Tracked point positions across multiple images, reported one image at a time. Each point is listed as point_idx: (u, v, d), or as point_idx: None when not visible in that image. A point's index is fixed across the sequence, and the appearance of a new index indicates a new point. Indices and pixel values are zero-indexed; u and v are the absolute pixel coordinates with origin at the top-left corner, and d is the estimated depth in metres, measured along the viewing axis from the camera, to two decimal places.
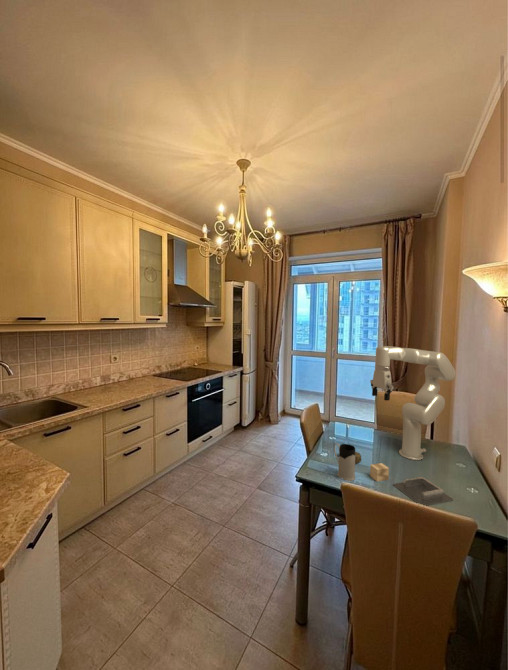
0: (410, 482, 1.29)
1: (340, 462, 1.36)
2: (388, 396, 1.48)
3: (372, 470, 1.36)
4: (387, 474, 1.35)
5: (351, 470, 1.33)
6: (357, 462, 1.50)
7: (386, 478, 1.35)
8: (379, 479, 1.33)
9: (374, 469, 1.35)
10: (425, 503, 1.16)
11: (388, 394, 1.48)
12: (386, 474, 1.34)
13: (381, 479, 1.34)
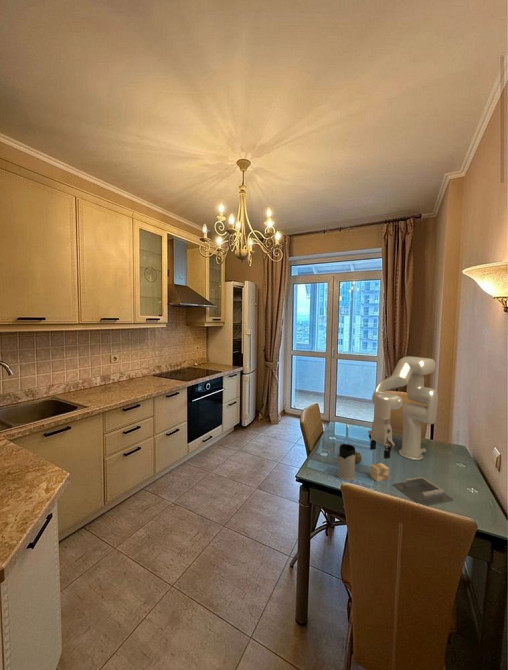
0: (410, 482, 1.29)
1: (340, 462, 1.36)
2: (388, 454, 1.30)
3: (372, 470, 1.36)
4: (387, 474, 1.35)
5: (351, 470, 1.33)
6: (357, 462, 1.50)
7: (386, 478, 1.35)
8: (379, 479, 1.33)
9: (374, 469, 1.35)
10: (425, 503, 1.16)
11: (388, 451, 1.30)
12: (386, 474, 1.34)
13: (381, 479, 1.34)
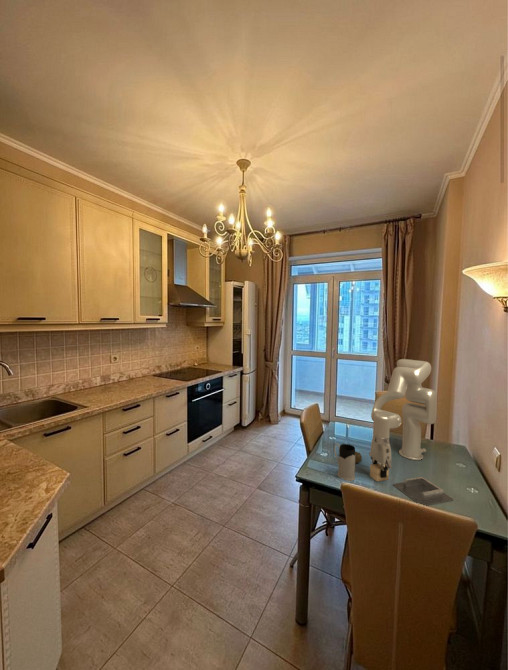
0: (410, 482, 1.29)
1: (340, 462, 1.36)
2: (385, 473, 1.32)
3: (372, 470, 1.36)
4: (387, 474, 1.35)
5: (351, 470, 1.33)
6: (357, 462, 1.50)
7: (386, 478, 1.34)
8: (379, 479, 1.33)
9: (374, 469, 1.35)
10: (425, 503, 1.16)
11: (385, 471, 1.32)
12: None
13: (381, 479, 1.34)
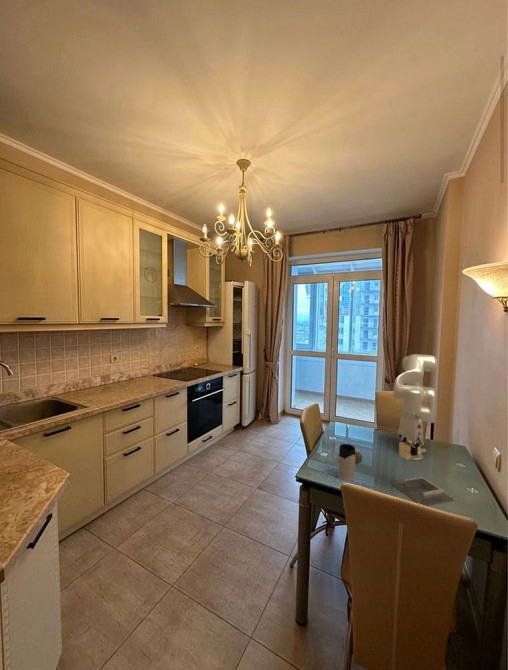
0: (410, 482, 1.29)
1: (340, 462, 1.36)
2: (416, 451, 1.24)
3: (401, 448, 1.28)
4: (418, 452, 1.26)
5: (351, 470, 1.33)
6: (358, 461, 1.50)
7: (417, 456, 1.26)
8: (409, 457, 1.25)
9: (404, 446, 1.27)
10: (425, 503, 1.16)
11: (416, 448, 1.24)
12: None
13: (411, 457, 1.26)
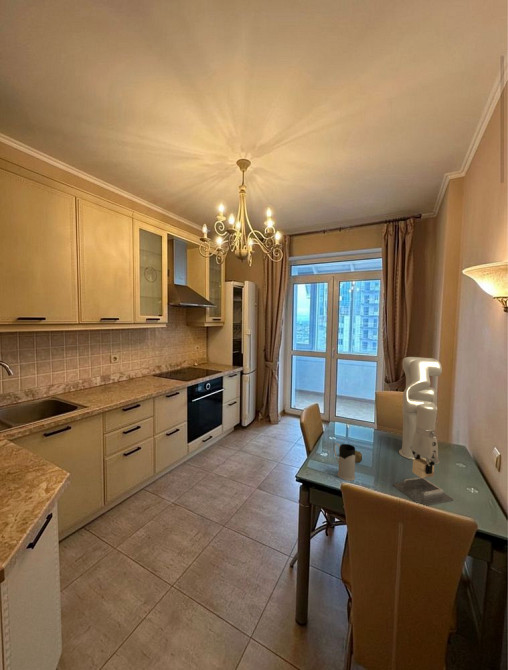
0: (410, 482, 1.29)
1: (340, 462, 1.36)
2: (431, 469, 1.21)
3: (415, 465, 1.24)
4: (432, 470, 1.23)
5: (351, 470, 1.33)
6: (359, 461, 1.51)
7: (431, 474, 1.23)
8: (424, 475, 1.21)
9: (418, 464, 1.23)
10: (425, 503, 1.16)
11: (431, 467, 1.21)
12: None
13: (426, 475, 1.22)
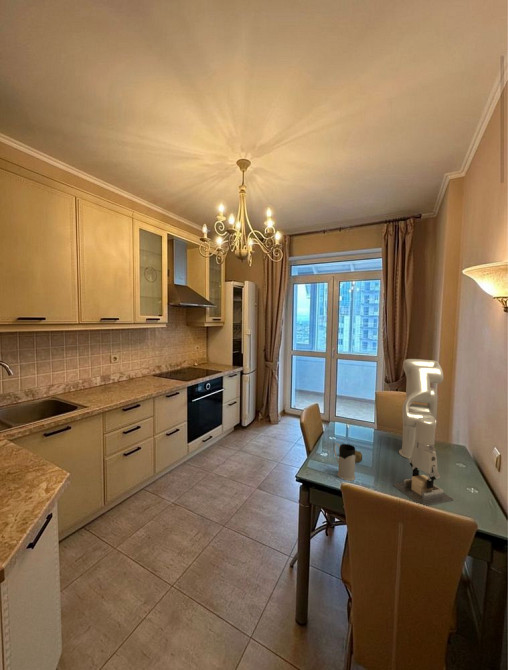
0: (410, 482, 1.29)
1: (340, 462, 1.36)
2: (432, 484, 1.20)
3: (414, 483, 1.25)
4: None
5: (351, 470, 1.33)
6: (359, 461, 1.51)
7: None
8: None
9: (417, 481, 1.23)
10: (425, 503, 1.16)
11: (432, 481, 1.20)
12: None
13: None
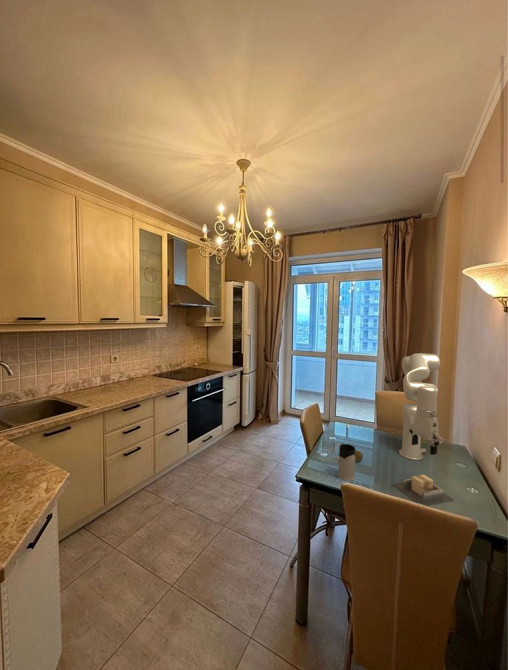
0: (410, 482, 1.29)
1: (340, 462, 1.36)
2: (435, 449, 1.19)
3: (414, 483, 1.25)
4: (431, 487, 1.23)
5: (351, 470, 1.33)
6: (359, 461, 1.51)
7: None
8: None
9: (417, 481, 1.23)
10: (425, 503, 1.16)
11: (435, 447, 1.19)
12: (430, 487, 1.23)
13: None
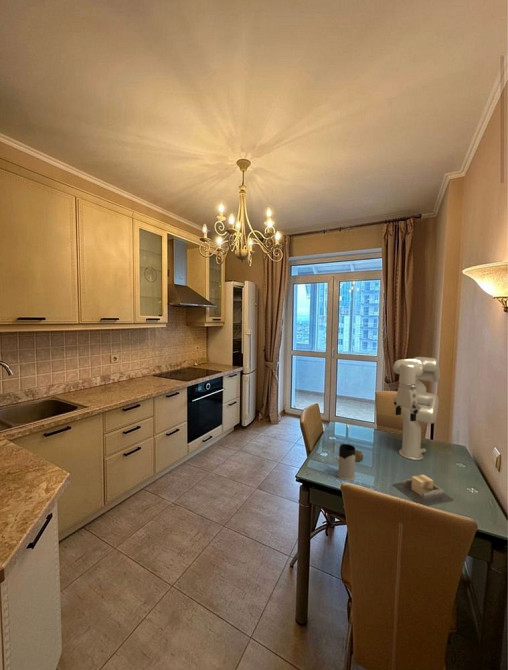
0: (410, 482, 1.29)
1: (340, 462, 1.36)
2: (414, 417, 1.39)
3: (414, 483, 1.25)
4: (431, 487, 1.23)
5: (351, 470, 1.33)
6: (359, 460, 1.52)
7: None
8: None
9: (417, 481, 1.23)
10: (425, 503, 1.16)
11: (414, 414, 1.39)
12: (430, 487, 1.23)
13: None
